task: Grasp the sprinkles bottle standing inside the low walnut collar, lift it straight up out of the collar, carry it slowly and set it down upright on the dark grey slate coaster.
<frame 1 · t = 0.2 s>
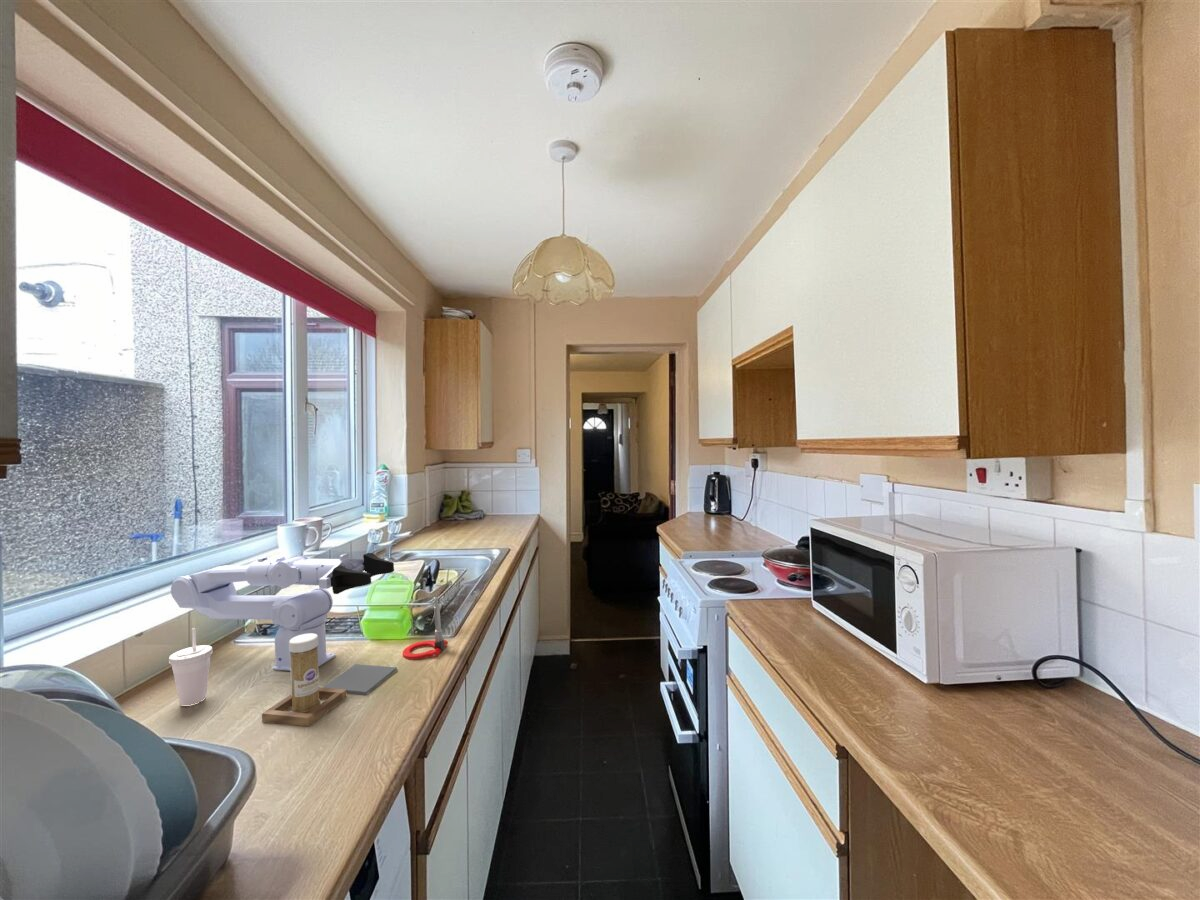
hand: (381, 572, 102), 21 cm above the countertop, tool horizontal, fingers open, 7 cm apart
coaster: (360, 680, 98), on the countertop
collar: (306, 708, 88), on the countertop
smoothie: (193, 702, 91), on the countertop
tow hook: (423, 653, 111), on the countertop
sprinkles bottle: (306, 710, 88), resting in collar
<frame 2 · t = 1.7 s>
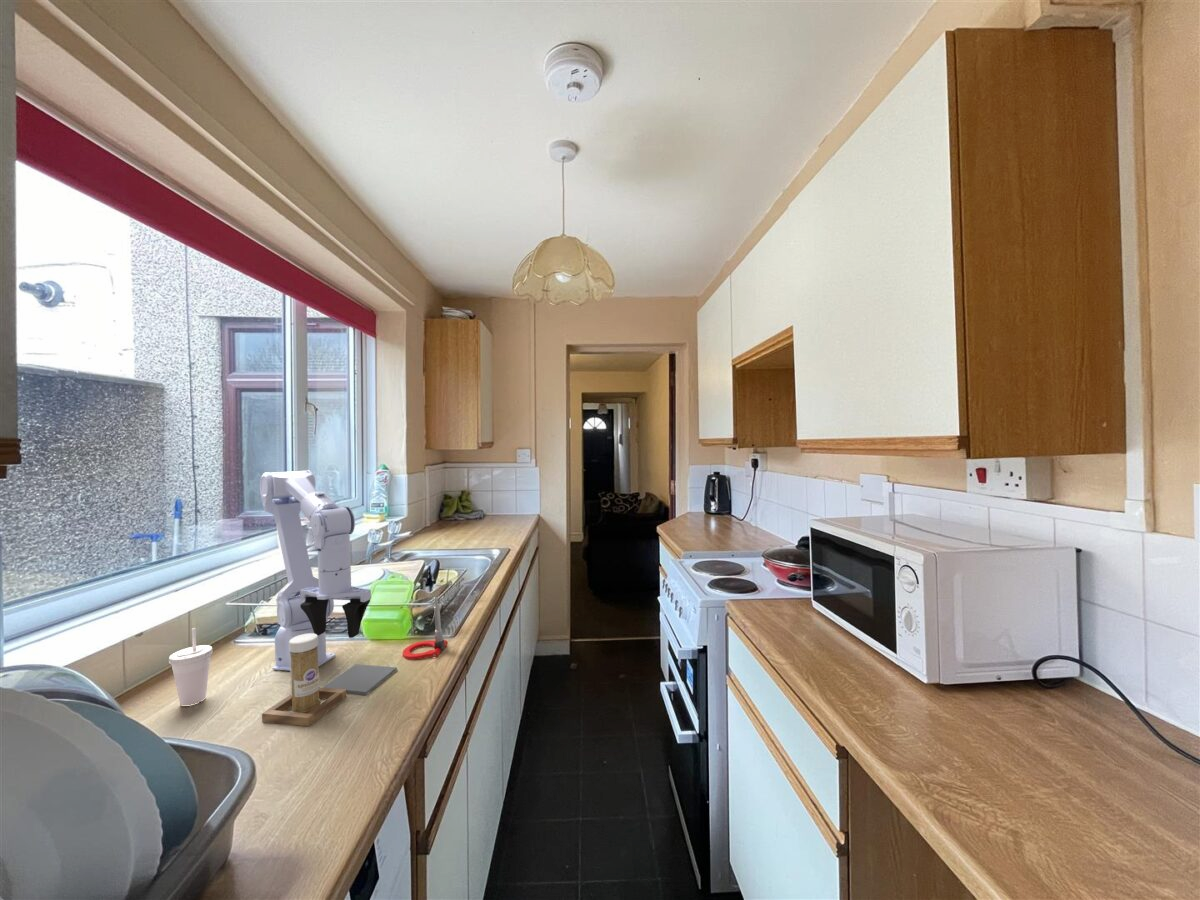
hand: (336, 634, 96), 10 cm above the countertop, tool pointing down, fingers open, 7 cm apart
nothing on the countertop moved.
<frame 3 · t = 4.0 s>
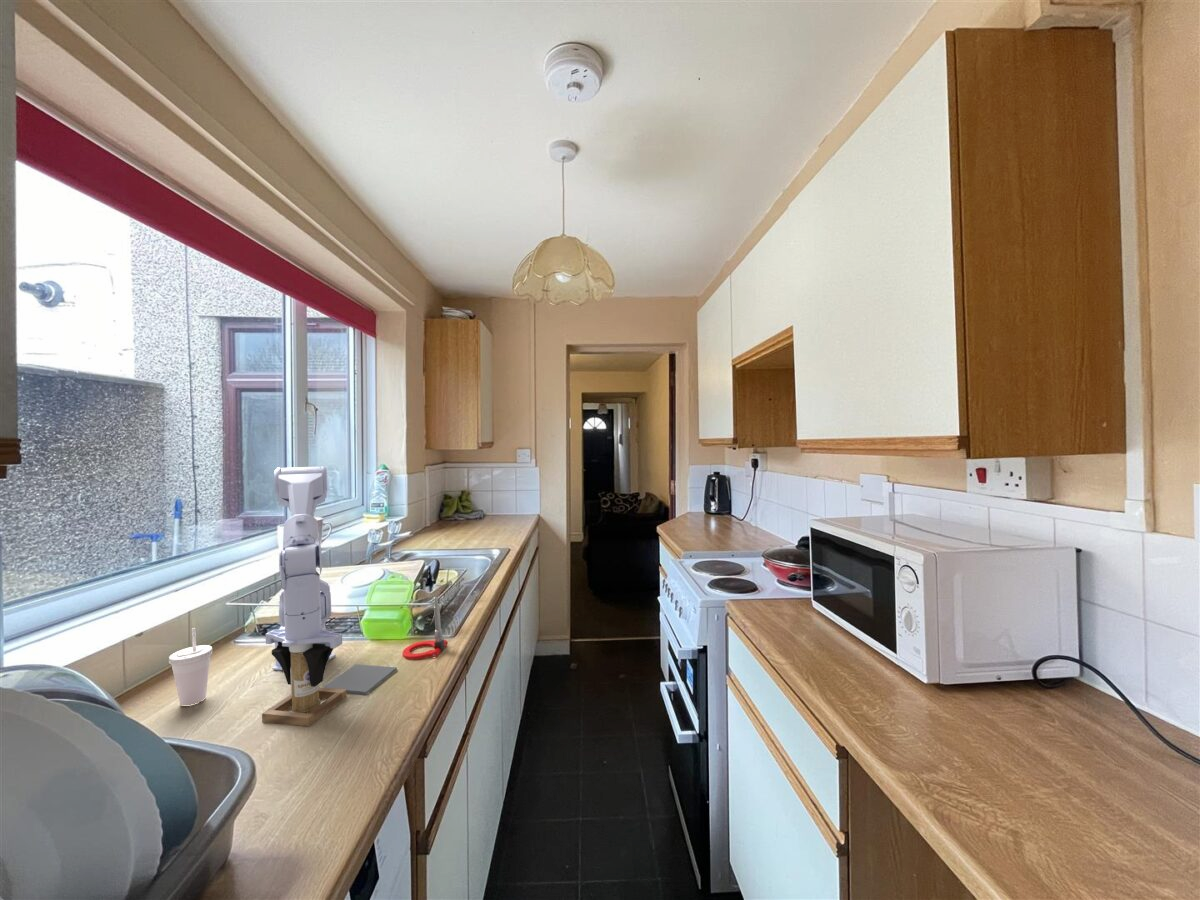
hand: (305, 682, 88), 5 cm above the countertop, tool pointing down, fingers closed on sprinkles bottle, 4 cm apart
sprinkles bottle: (306, 710, 88), resting in collar, touching gripper
everything else where it was.
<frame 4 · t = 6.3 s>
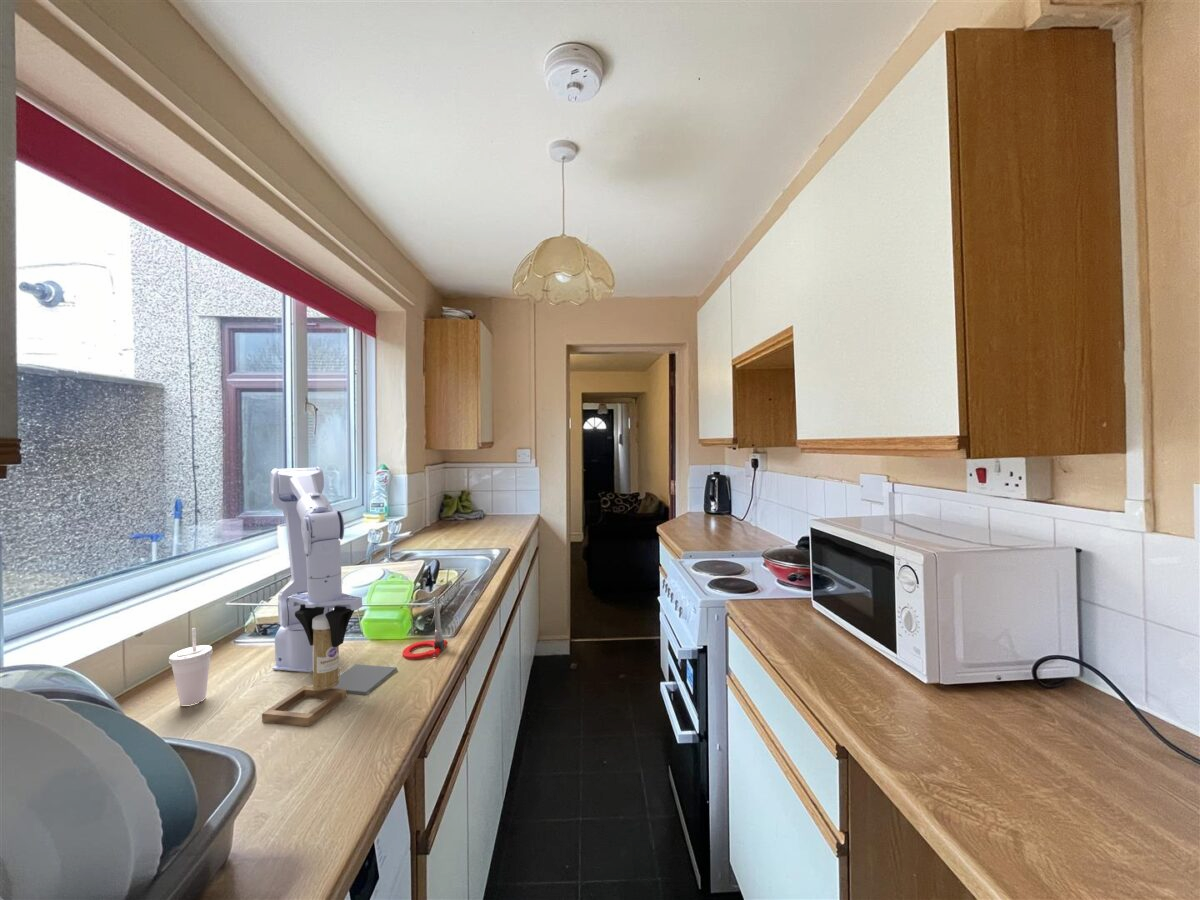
hand: (326, 644, 91), 10 cm above the countertop, tool pointing down, fingers closed on sprinkles bottle, 4 cm apart
sprinkles bottle: (326, 686, 91), point 2 cm above the countertop, touching gripper
everything else where it was.
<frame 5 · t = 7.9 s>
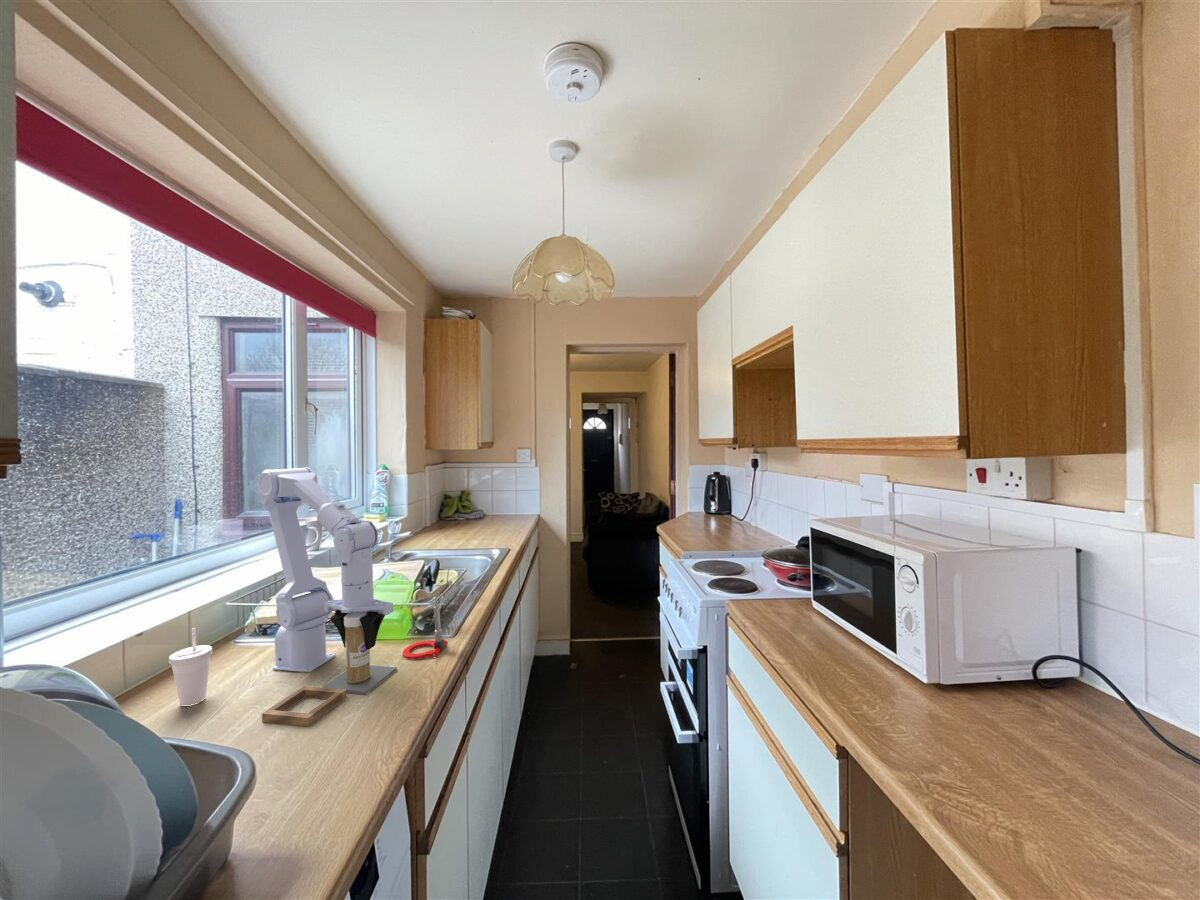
hand: (359, 646, 98), 7 cm above the countertop, tool pointing down, fingers closed on sprinkles bottle, 4 cm apart
sprinkles bottle: (358, 679, 97), resting on coaster, touching gripper
everything else where it was.
when the fingers open (7 cm above the countertop, at t = 8.9 s): sprinkles bottle stays where it is, resting on coaster.
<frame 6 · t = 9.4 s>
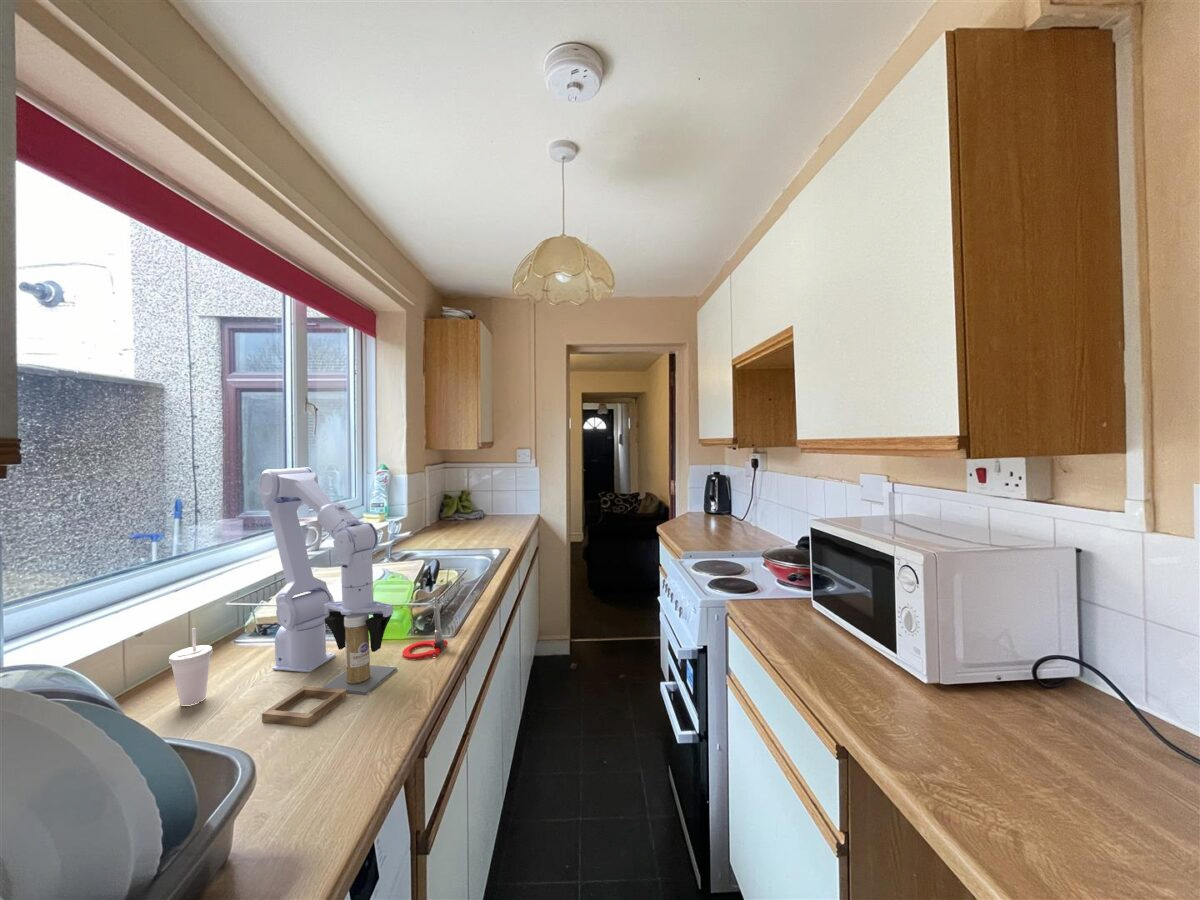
hand: (359, 648, 98), 7 cm above the countertop, tool pointing down, fingers open, 7 cm apart
sprinkles bottle: (358, 679, 97), resting on coaster
everything else where it was.
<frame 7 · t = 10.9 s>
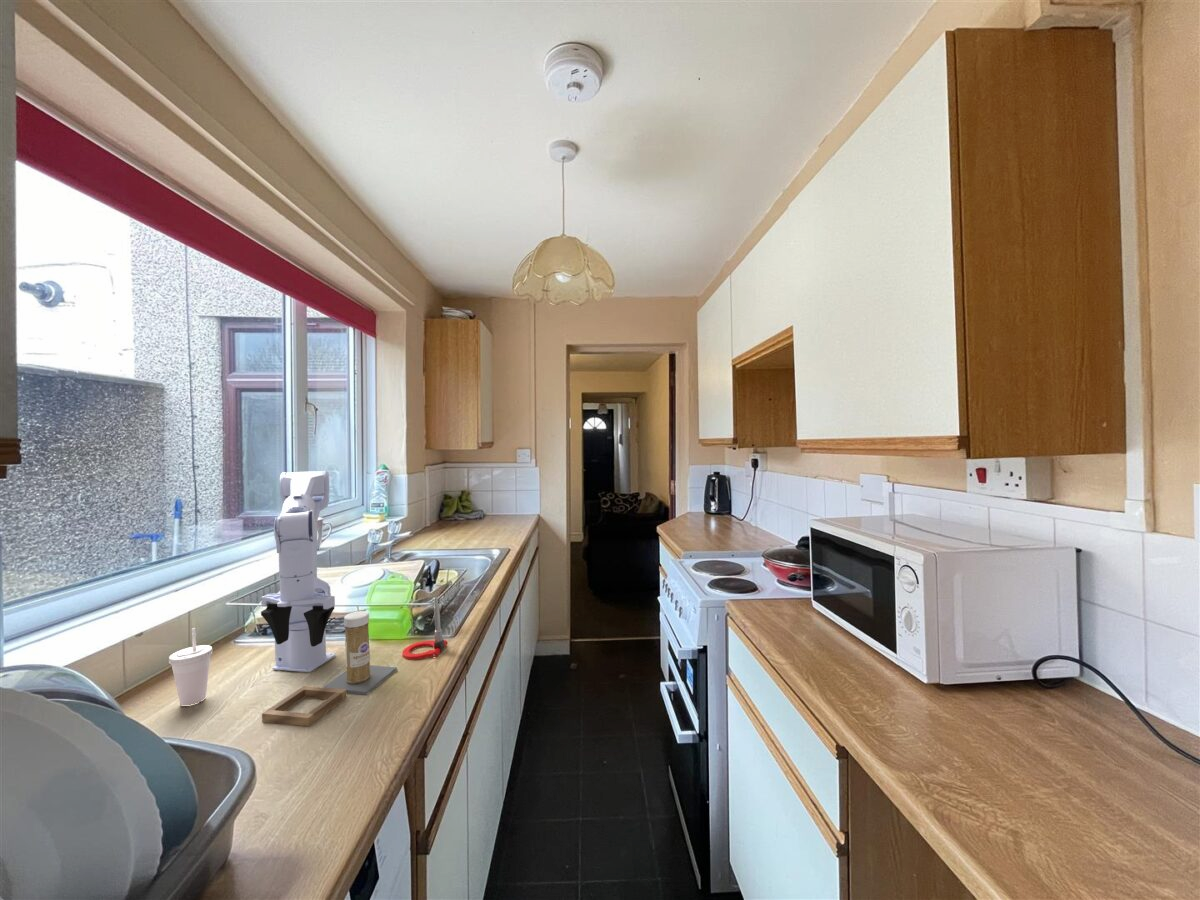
hand: (299, 643, 92), 10 cm above the countertop, tool pointing down, fingers open, 7 cm apart
nothing on the countertop moved.
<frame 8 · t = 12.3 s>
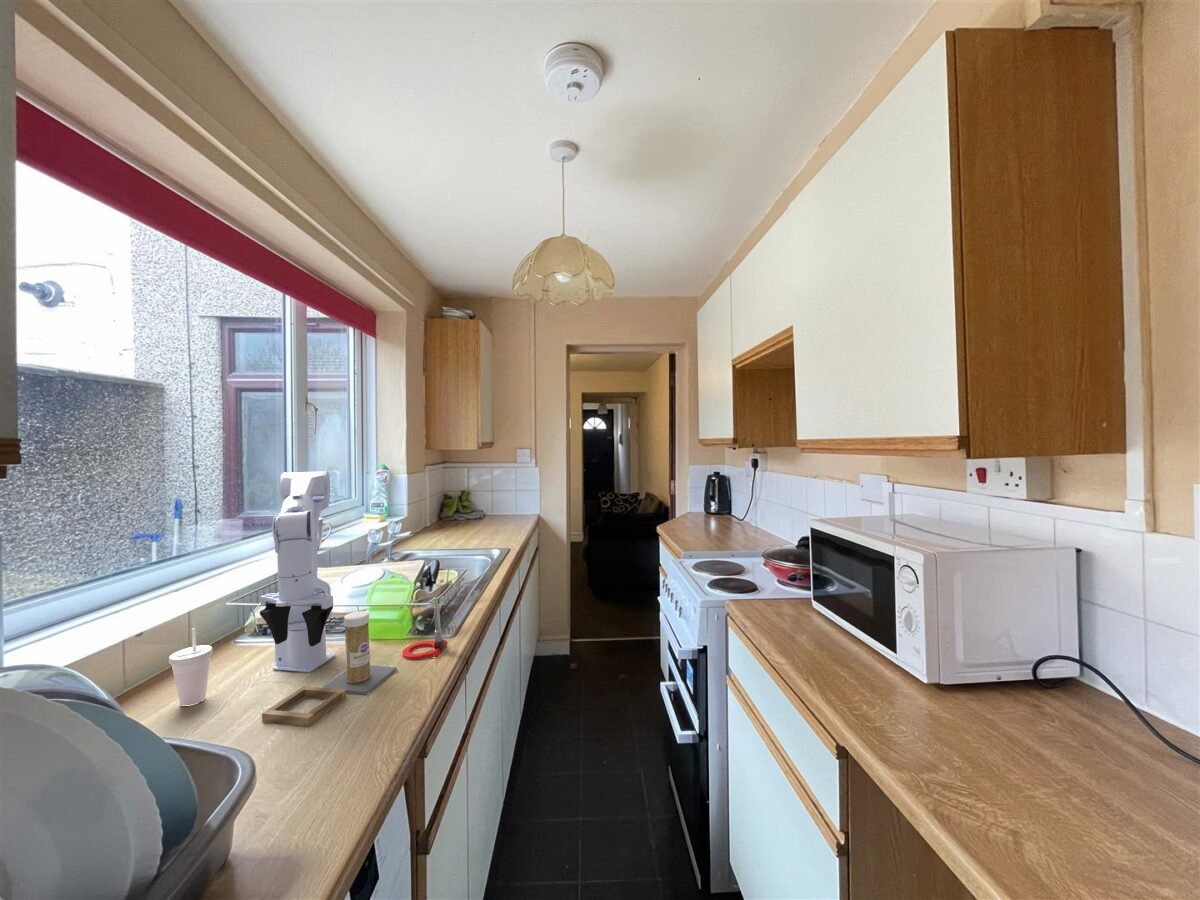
hand: (298, 643, 92), 10 cm above the countertop, tool pointing down, fingers open, 7 cm apart
nothing on the countertop moved.
at the end: sprinkles bottle inside the target area on the coaster (0.7 cm from its centre), point 0.4 cm above the coaster's base; sprinkles bottle tilted 0°; the gripper is holding nothing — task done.
